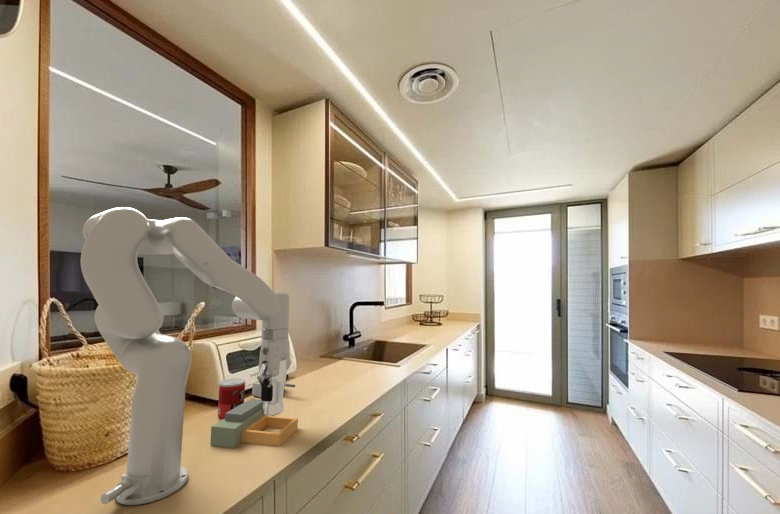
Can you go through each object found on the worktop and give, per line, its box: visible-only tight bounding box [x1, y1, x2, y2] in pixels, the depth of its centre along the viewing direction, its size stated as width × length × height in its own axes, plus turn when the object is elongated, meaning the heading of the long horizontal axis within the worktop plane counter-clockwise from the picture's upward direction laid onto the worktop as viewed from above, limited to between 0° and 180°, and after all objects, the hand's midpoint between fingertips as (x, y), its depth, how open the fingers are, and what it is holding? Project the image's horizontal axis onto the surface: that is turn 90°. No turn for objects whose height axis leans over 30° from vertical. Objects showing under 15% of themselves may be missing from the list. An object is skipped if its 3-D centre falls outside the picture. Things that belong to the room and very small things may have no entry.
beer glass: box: [262, 358, 287, 416], centre depth 95 cm, size 7×7×15 cm
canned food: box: [217, 377, 246, 420], centre depth 108 cm, size 8×8×11 cm
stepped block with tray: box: [209, 398, 299, 449], centre depth 96 cm, size 20×18×7 cm
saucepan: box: [251, 381, 296, 398], centre depth 128 cm, size 12×20×6 cm, turn 63°
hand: (273, 396), depth 95 cm, fingers closed on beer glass, 6 cm apart
